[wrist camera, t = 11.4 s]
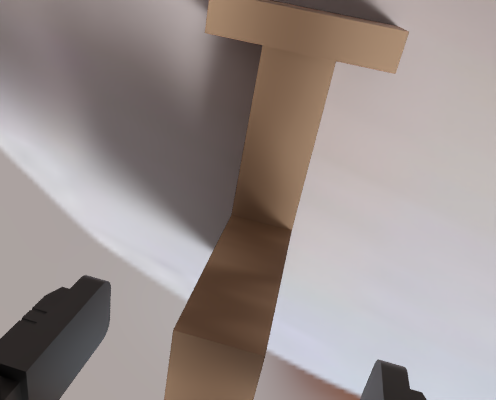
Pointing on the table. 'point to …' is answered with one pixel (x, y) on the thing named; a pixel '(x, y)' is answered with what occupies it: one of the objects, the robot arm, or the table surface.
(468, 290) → the table surface
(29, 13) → the table surface
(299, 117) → the wooden t-shaped piece
